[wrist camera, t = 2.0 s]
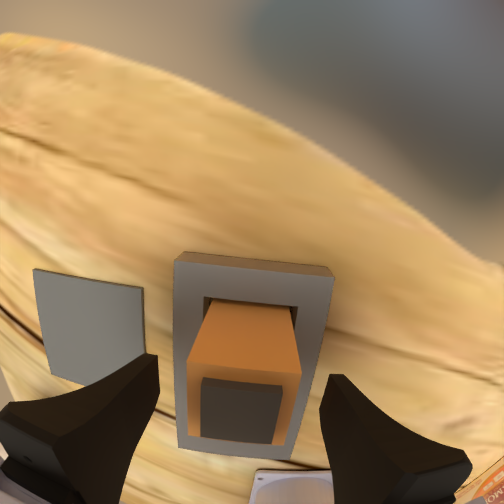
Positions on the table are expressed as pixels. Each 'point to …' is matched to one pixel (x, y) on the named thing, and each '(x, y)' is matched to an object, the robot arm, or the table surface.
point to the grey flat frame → (251, 290)
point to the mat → (88, 325)
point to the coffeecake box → (485, 486)
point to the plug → (243, 373)
